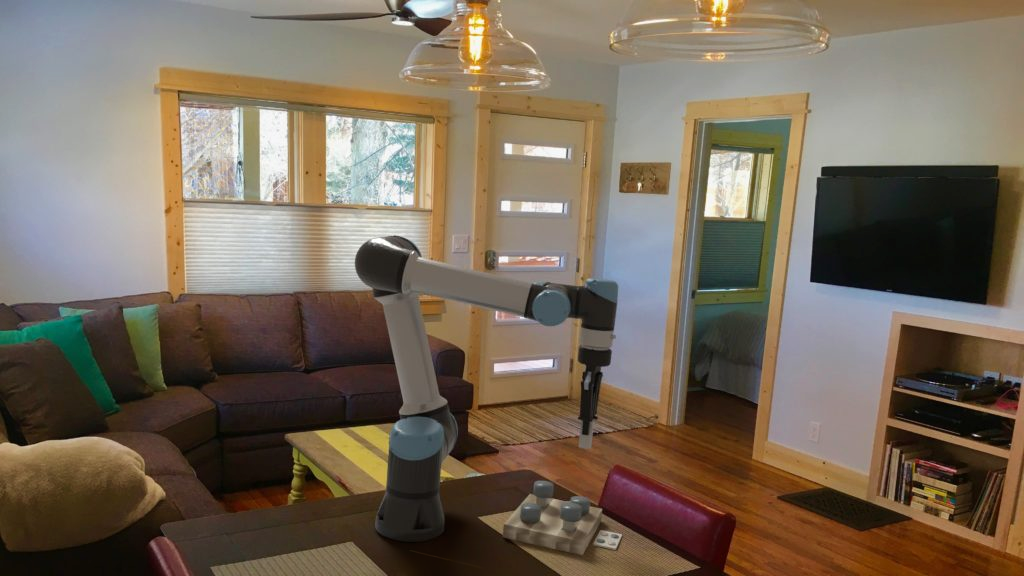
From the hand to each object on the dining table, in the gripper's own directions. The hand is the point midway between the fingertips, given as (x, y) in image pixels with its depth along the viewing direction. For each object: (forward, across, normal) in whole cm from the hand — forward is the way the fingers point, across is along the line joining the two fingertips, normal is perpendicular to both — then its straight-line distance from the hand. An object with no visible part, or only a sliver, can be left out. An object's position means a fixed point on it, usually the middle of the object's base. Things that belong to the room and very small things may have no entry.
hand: (584, 447), depth 173 cm
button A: (+18, -10, +9) cm, 23 cm away
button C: (+16, -10, 0) cm, 19 cm away
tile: (+19, -5, -8) cm, 21 cm away
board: (+19, -5, +4) cm, 20 cm away
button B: (+16, 0, +9) cm, 18 cm away
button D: (+18, 0, 0) cm, 18 cm away
